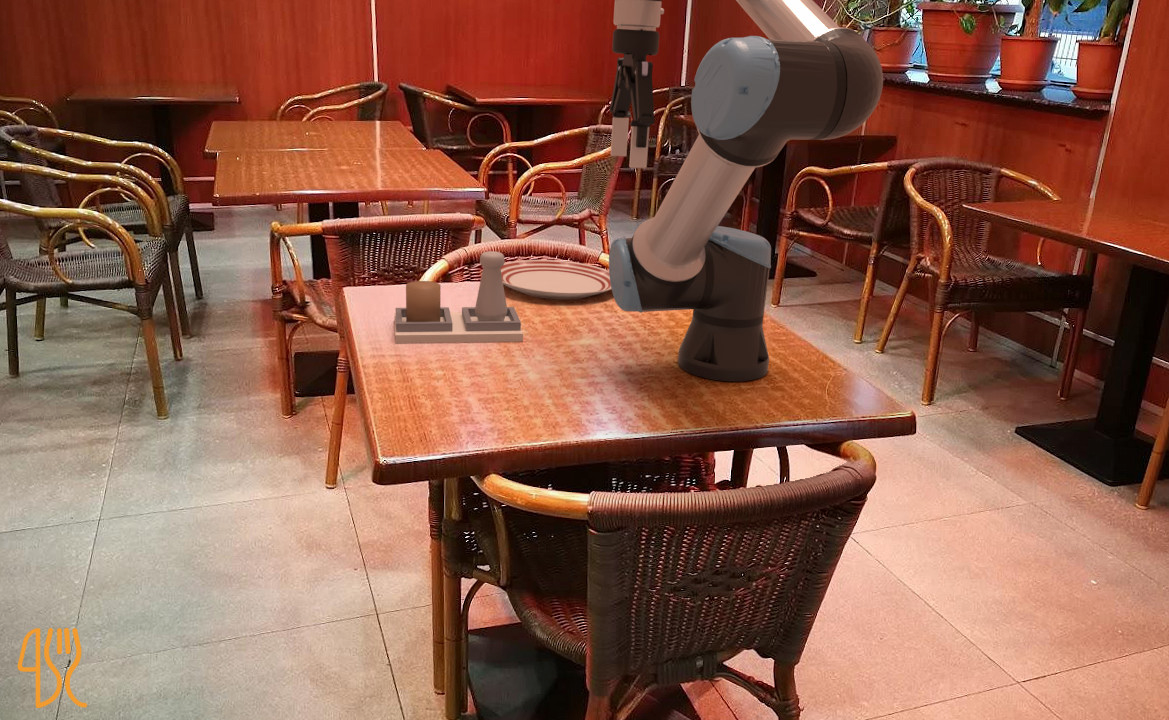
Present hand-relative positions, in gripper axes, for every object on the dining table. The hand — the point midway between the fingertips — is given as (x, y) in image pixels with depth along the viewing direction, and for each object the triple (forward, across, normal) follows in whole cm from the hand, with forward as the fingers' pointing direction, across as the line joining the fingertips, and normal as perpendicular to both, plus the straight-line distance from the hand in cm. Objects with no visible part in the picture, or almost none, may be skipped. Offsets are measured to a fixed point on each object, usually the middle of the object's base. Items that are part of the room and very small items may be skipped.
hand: (627, 161), depth 160 cm
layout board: (+32, +6, +28) cm, 43 cm away
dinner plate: (+32, +35, +5) cm, 48 cm away
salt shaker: (+30, +6, +22) cm, 38 cm away
